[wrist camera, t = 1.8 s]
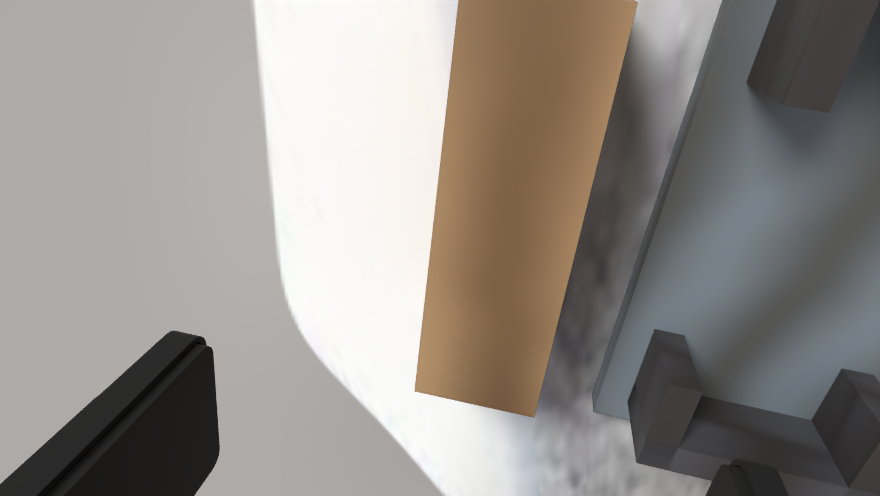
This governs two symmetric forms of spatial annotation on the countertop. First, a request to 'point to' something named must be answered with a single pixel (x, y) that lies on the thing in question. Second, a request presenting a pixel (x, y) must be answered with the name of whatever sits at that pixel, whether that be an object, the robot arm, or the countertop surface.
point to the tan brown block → (514, 190)
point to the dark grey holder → (764, 260)
